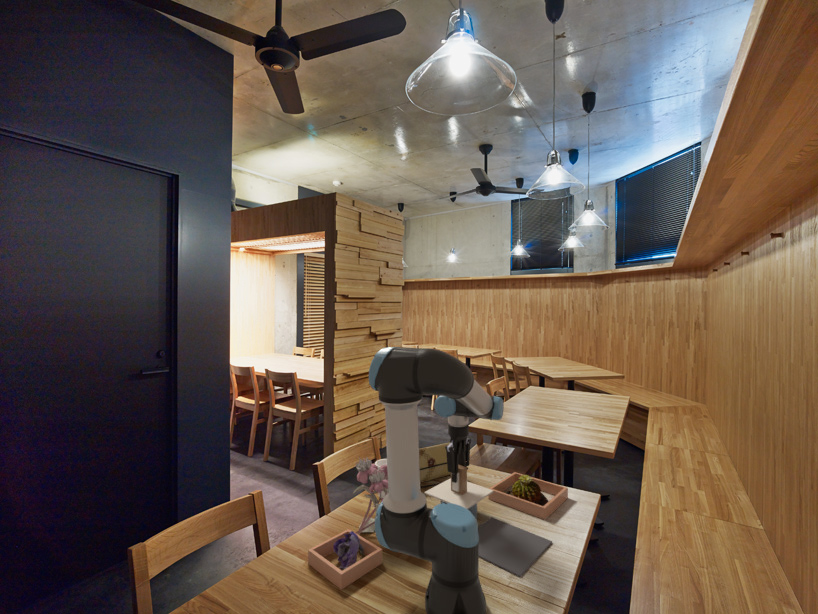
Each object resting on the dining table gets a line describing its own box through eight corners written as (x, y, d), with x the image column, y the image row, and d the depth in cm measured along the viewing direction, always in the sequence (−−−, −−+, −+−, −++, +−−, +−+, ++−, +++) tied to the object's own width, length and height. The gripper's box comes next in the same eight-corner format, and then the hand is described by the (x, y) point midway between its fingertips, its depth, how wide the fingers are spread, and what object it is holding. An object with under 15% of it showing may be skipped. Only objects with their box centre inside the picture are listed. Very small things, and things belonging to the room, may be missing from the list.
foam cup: (394, 501, 150) (394, 468, 150) (372, 499, 152) (372, 466, 152) (400, 490, 159) (400, 459, 160) (378, 489, 161) (378, 457, 161)
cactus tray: (544, 519, 136) (544, 508, 136) (488, 498, 152) (488, 488, 152) (567, 497, 152) (567, 487, 153) (514, 481, 168) (514, 472, 168)
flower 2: (375, 560, 111) (405, 473, 119) (327, 525, 126) (357, 449, 133) (412, 559, 126) (437, 481, 133) (366, 528, 140) (390, 459, 147)
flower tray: (341, 589, 102) (341, 574, 102) (308, 563, 113) (308, 549, 113) (382, 562, 113) (382, 549, 113) (348, 541, 124) (348, 528, 124)
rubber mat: (520, 577, 106) (520, 575, 106) (455, 545, 121) (455, 544, 121) (552, 542, 122) (552, 541, 122) (491, 518, 137) (491, 517, 137)
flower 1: (358, 524, 121) (341, 524, 114) (376, 545, 116) (359, 546, 108) (341, 551, 120) (322, 552, 112) (358, 573, 115) (339, 576, 107)
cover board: (465, 510, 127) (465, 481, 127) (424, 493, 139) (424, 467, 140) (493, 492, 140) (493, 465, 141) (453, 478, 153) (453, 453, 153)
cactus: (495, 498, 153) (495, 474, 153) (519, 487, 162) (519, 464, 163) (533, 516, 139) (532, 489, 139) (556, 503, 149) (556, 477, 149)
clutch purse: (406, 493, 157) (406, 456, 158) (398, 487, 163) (398, 451, 164) (463, 477, 172) (463, 444, 172) (454, 472, 178) (453, 440, 178)
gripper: (453, 431, 132) (454, 499, 131) (479, 421, 144) (479, 484, 143) (436, 427, 137) (437, 493, 137) (462, 418, 149) (462, 478, 148)
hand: (458, 488), depth 140 cm, fingers closed on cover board, 3 cm apart
